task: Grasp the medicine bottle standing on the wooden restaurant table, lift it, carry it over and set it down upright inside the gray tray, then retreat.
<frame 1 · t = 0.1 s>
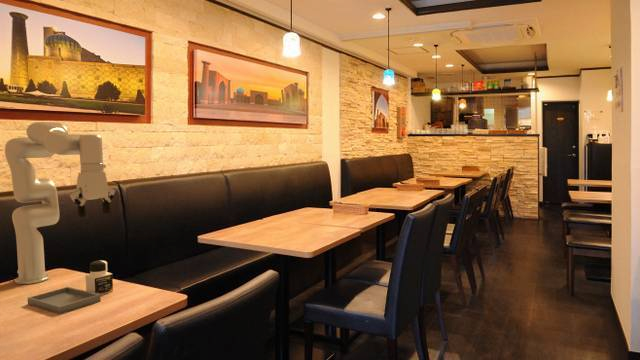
hand: (94, 214, 175), 31 cm above the table, tool pointing down, fingers open, 9 cm apart
medicine bottle: (99, 292, 183), on the table
gray tray: (64, 302, 171), on the table
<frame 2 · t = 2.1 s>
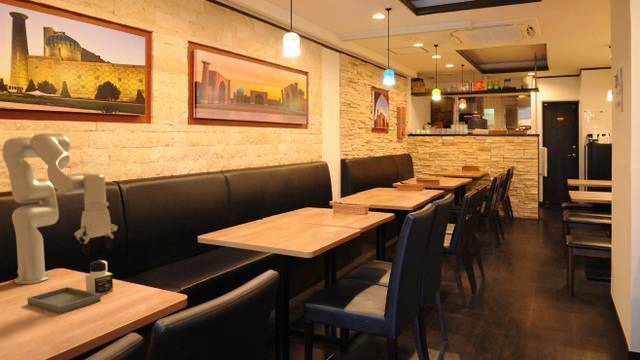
hand: (98, 250, 182), 16 cm above the table, tool pointing down, fingers open, 9 cm apart
nothing on the table moved.
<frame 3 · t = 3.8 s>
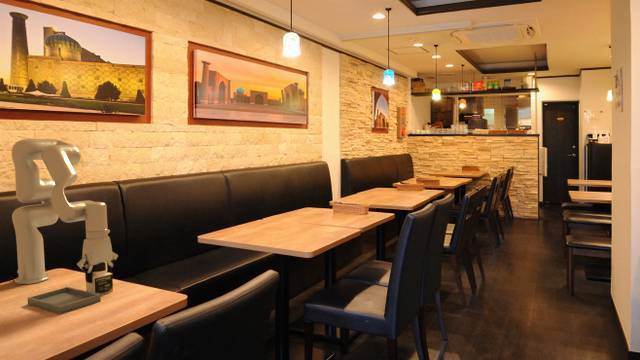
hand: (99, 279, 183), 5 cm above the table, tool pointing down, fingers closed on medicine bottle, 7 cm apart
medicine bottle: (99, 292, 183), on the table, touching gripper
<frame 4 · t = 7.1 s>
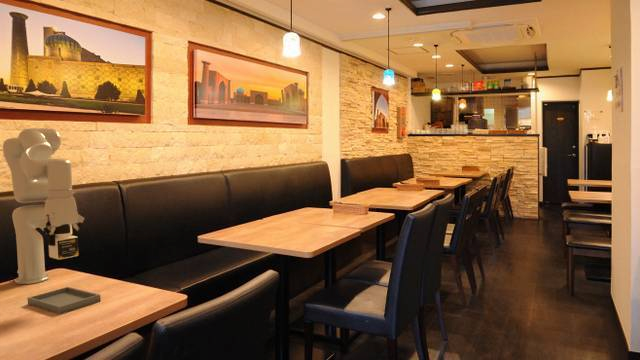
hand: (63, 242, 170), 22 cm above the table, tool pointing down, fingers closed on medicine bottle, 7 cm apart
medicine bottle: (64, 257, 170), point 17 cm above the table, touching gripper
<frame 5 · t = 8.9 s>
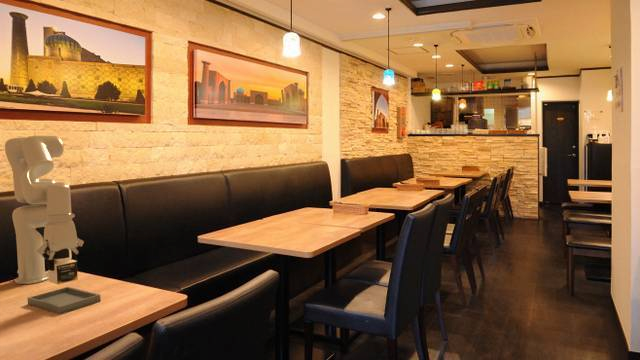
hand: (62, 267, 170), 13 cm above the table, tool pointing down, fingers closed on medicine bottle, 7 cm apart
medicine bottle: (63, 281, 170), point 8 cm above the table, touching gripper
when the fingers open (7 cm above the table, at t = 10.6 s): medicine bottle drops 1 cm, resting on gray tray.
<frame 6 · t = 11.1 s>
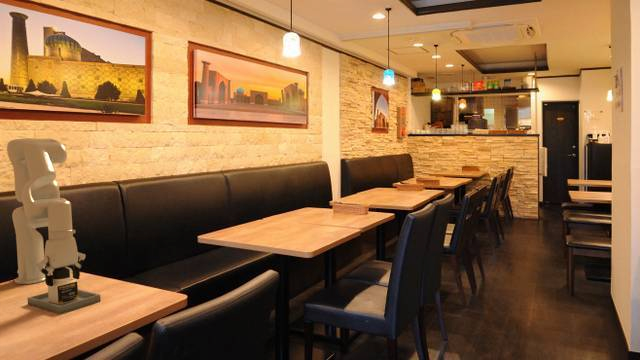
hand: (63, 282, 170), 8 cm above the table, tool pointing down, fingers open, 9 cm apart
medicine bottle: (63, 301, 171), point 1 cm above the table, touching gray tray
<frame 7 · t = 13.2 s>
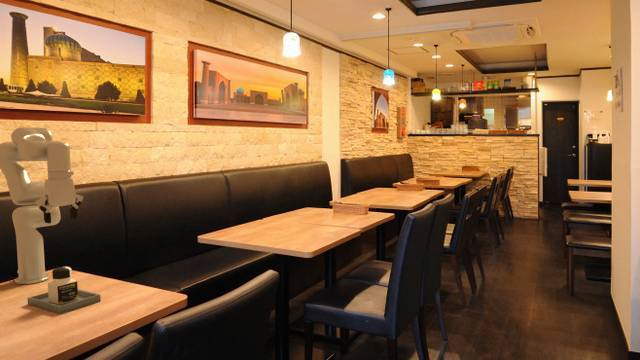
hand: (61, 220, 178), 28 cm above the table, tool pointing down, fingers open, 9 cm apart
nothing on the table moved.
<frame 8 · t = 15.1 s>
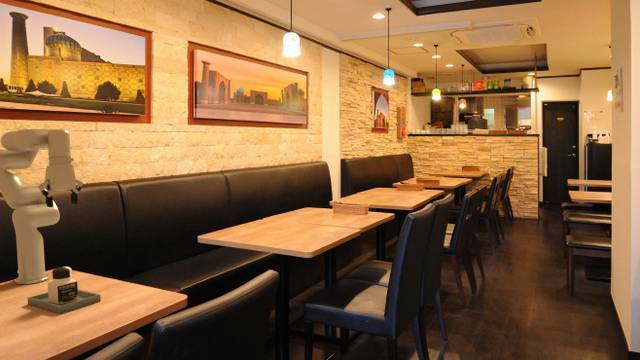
hand: (62, 205, 185), 33 cm above the table, tool pointing down, fingers open, 9 cm apart
nothing on the table moved.
at the end: medicine bottle inside the target area on the gray tray (0.2 cm from its centre), point 0.6 cm above the gray tray's base; medicine bottle tilted 0°; the gripper is holding nothing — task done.
